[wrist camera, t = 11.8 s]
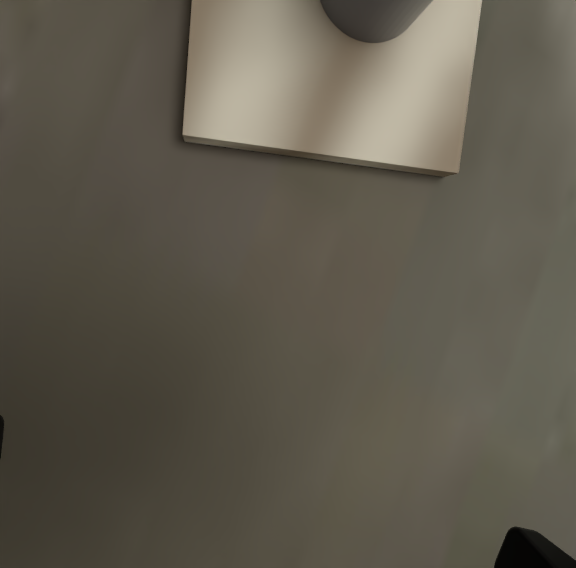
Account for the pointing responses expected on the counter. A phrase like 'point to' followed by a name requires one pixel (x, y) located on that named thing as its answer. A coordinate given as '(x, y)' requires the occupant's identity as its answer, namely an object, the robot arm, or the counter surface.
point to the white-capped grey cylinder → (373, 17)
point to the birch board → (330, 84)
